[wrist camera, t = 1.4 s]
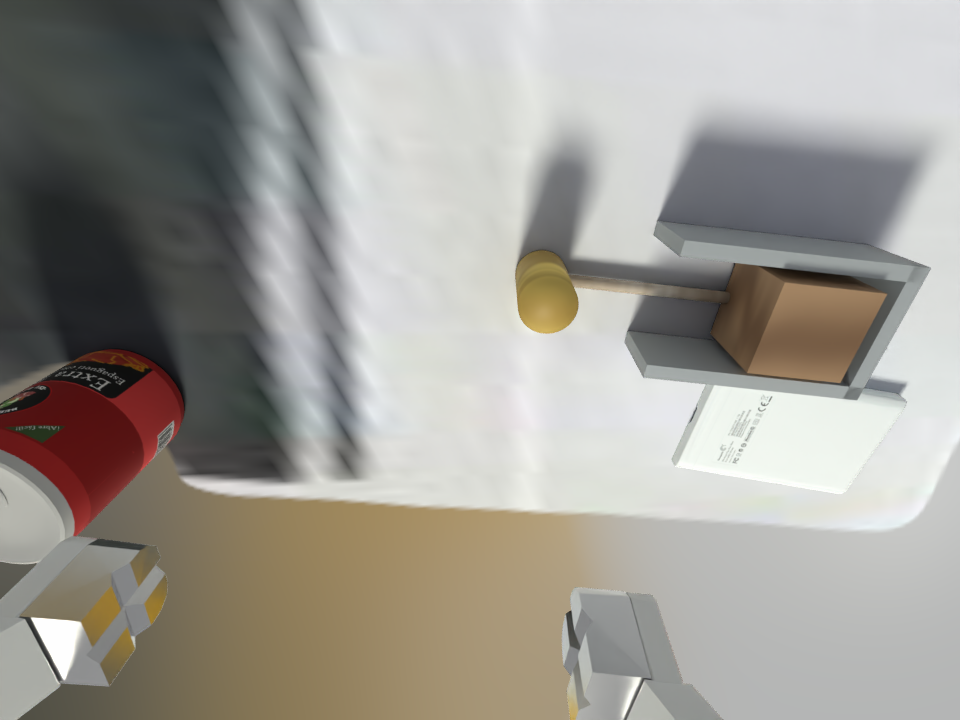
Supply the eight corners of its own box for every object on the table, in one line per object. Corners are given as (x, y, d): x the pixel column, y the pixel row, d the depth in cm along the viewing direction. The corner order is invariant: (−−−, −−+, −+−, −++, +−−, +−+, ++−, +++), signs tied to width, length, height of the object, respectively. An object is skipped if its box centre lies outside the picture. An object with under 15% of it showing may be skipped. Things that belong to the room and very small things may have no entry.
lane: (657, 220, 27) (684, 240, 23) (867, 244, 27) (931, 267, 23) (624, 342, 30) (643, 377, 26) (810, 362, 31) (857, 400, 27)
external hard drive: (829, 481, 36) (668, 454, 35) (891, 388, 32) (712, 357, 31) (842, 496, 34) (675, 469, 34) (910, 402, 30) (722, 369, 30)
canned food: (157, 338, 32) (4, 440, 22) (207, 435, 35) (95, 560, 25) (53, 352, 32) (-139, 457, 23) (113, 446, 36) (-31, 571, 26)
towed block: (521, 230, 27) (525, 253, 23) (824, 263, 27) (887, 293, 23) (510, 311, 29) (511, 347, 25) (789, 342, 30) (840, 383, 25)
